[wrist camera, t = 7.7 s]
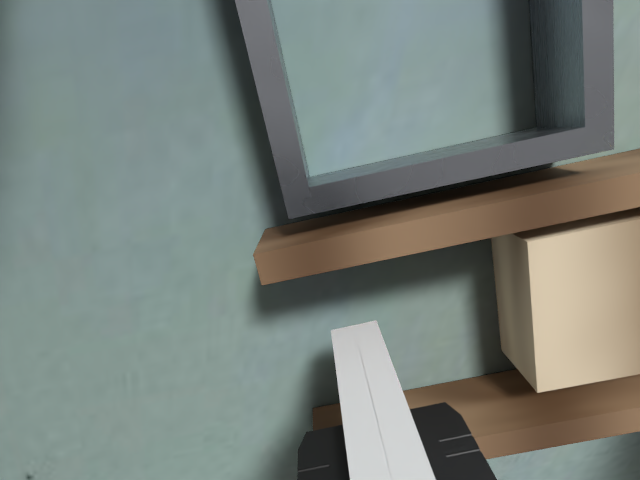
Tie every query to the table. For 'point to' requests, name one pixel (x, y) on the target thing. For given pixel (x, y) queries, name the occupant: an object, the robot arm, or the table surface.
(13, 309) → the table surface
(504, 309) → the block
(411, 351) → the table surface
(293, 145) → the frame
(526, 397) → the beam
